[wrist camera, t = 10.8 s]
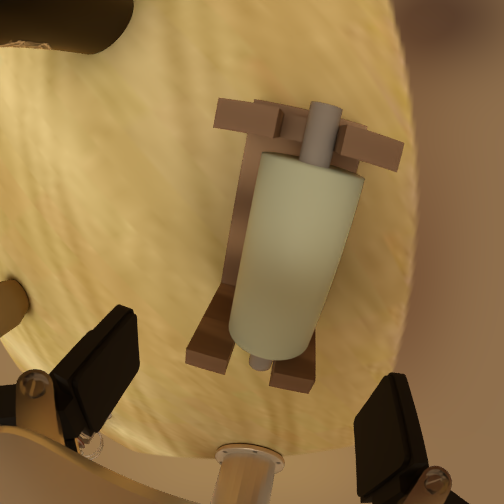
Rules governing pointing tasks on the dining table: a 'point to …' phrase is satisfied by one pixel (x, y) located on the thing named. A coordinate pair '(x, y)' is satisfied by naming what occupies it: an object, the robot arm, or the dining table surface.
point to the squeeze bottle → (11, 305)
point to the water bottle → (63, 24)
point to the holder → (258, 140)
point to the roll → (293, 243)
